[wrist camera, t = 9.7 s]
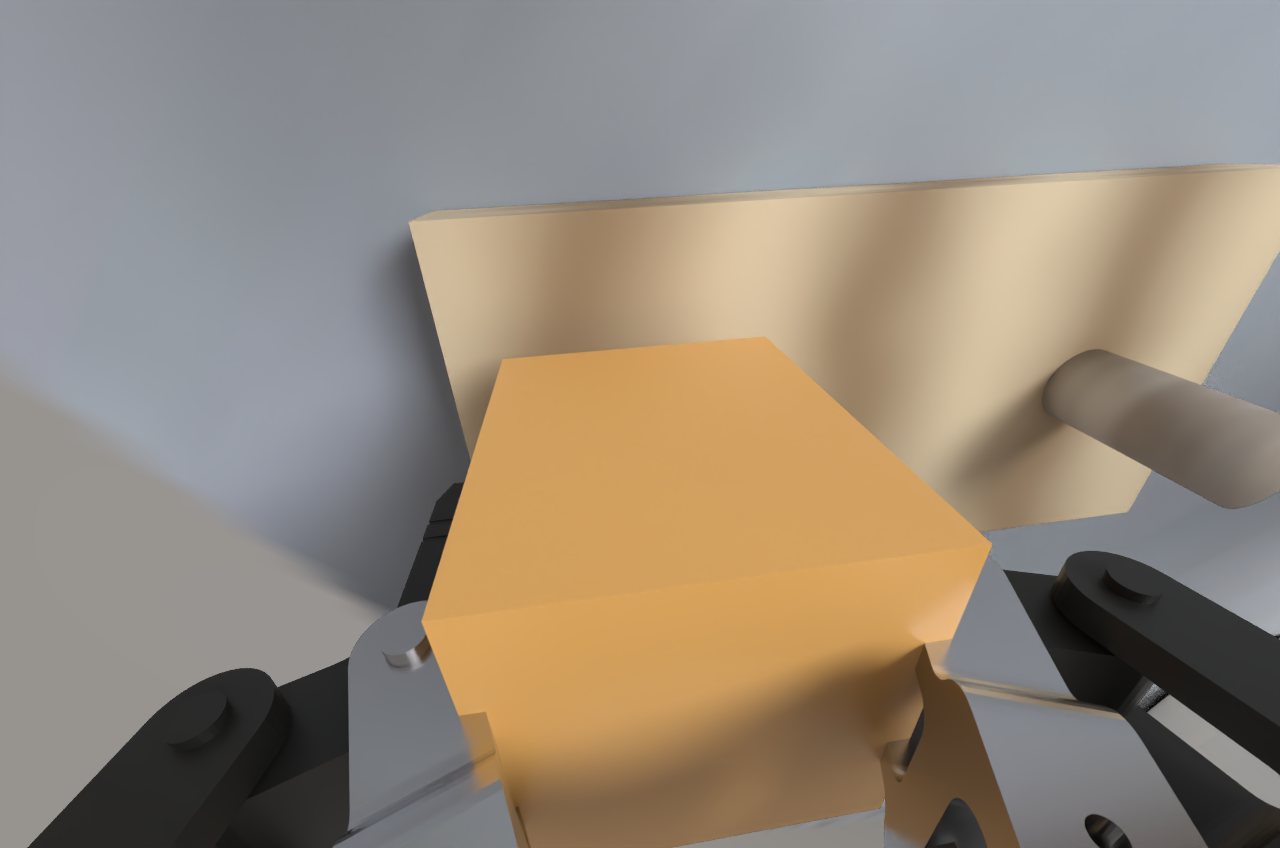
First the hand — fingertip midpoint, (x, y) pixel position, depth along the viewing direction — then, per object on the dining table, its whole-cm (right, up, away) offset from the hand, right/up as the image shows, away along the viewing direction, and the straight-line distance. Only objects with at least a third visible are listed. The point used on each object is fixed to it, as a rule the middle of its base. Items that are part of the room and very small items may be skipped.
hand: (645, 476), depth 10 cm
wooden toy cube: (0, 0, +1) cm, 1 cm away
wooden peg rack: (+5, +2, +4) cm, 7 cm away
